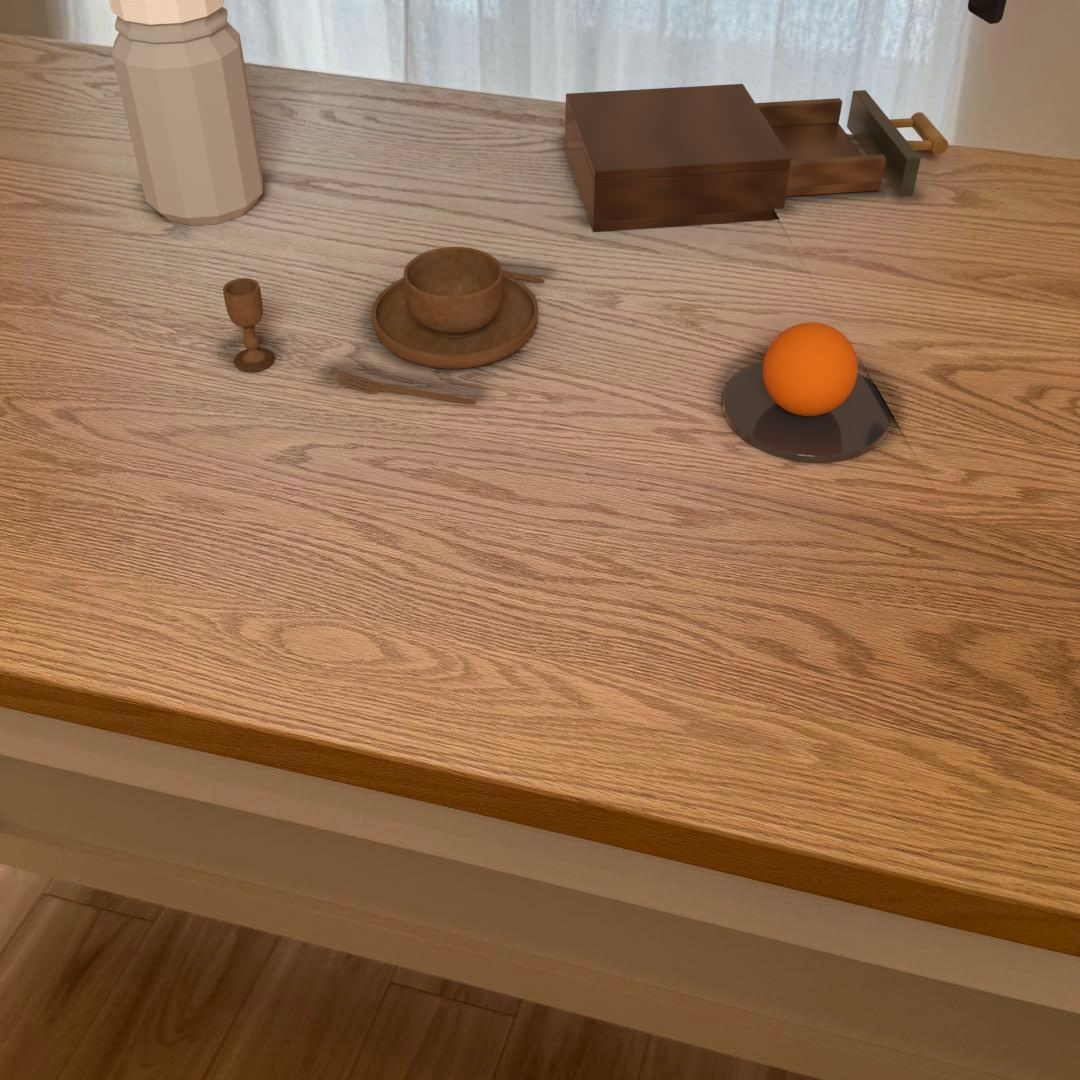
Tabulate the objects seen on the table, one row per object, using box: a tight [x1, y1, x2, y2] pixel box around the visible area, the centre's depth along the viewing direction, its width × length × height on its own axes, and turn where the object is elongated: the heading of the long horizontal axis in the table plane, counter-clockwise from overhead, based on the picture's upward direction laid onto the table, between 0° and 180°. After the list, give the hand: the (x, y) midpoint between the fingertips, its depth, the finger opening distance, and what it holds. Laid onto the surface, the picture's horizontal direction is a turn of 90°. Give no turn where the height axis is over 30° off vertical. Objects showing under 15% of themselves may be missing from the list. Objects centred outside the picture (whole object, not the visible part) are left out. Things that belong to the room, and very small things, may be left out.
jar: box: [108, 0, 264, 227], centre depth 98 cm, size 10×10×18 cm
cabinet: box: [564, 83, 791, 233], centre depth 105 cm, size 16×15×5 cm
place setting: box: [222, 246, 545, 405], centre depth 88 cm, size 18×20×6 cm
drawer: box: [755, 89, 949, 198], centre depth 106 cm, size 19×14×3 cm
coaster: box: [722, 360, 892, 464], centre depth 83 cm, size 11×11×1 cm
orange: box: [763, 321, 859, 416], centre depth 80 cm, size 6×6×6 cm
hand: (1044, 8), depth 86 cm, fingers open, 9 cm apart
